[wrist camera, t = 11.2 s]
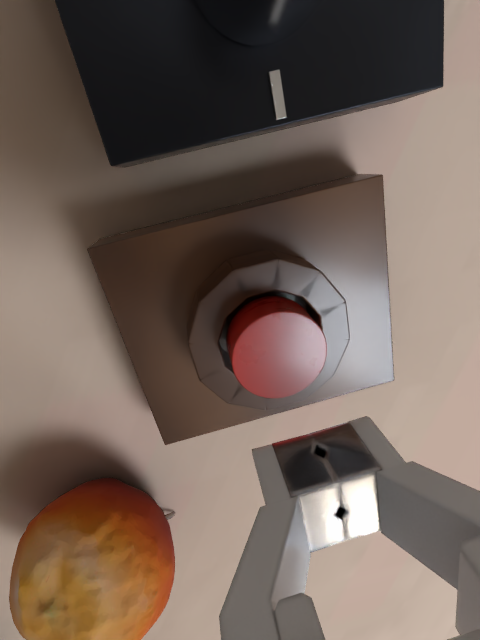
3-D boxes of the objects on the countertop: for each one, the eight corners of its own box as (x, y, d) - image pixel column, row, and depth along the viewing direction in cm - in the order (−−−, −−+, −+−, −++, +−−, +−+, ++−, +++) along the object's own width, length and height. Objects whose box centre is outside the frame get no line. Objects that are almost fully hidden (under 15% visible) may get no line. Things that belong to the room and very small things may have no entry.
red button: (237, 385, 15) (243, 409, 14) (216, 308, 14) (221, 326, 12) (317, 362, 16) (332, 384, 14) (305, 285, 14) (321, 299, 13)
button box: (166, 417, 20) (163, 473, 16) (98, 239, 16) (73, 259, 12) (373, 360, 20) (415, 401, 17) (358, 174, 16) (409, 174, 13)
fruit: (142, 603, 23) (47, 749, 15) (67, 504, 24) (-55, 592, 16) (229, 527, 22) (175, 645, 14) (145, 427, 23) (52, 482, 15)
